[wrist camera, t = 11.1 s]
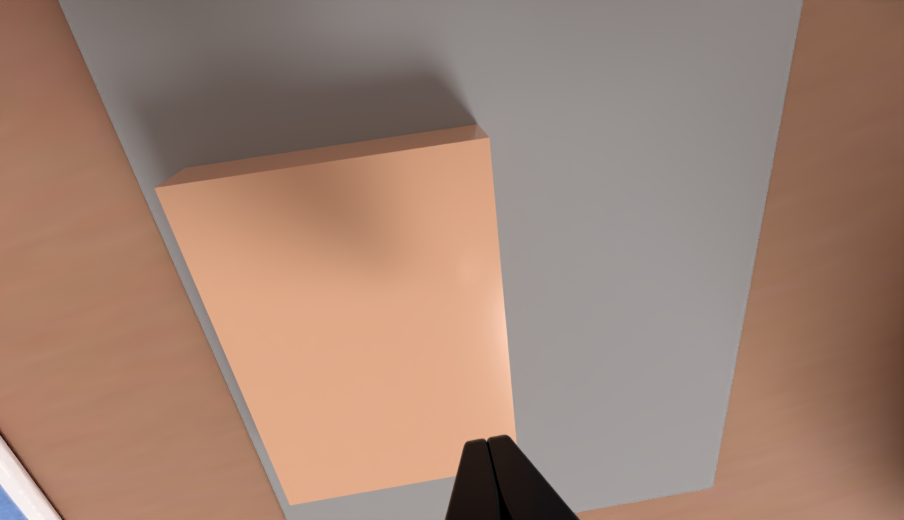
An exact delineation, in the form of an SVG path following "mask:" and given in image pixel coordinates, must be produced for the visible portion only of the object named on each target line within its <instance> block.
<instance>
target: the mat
mask: <svg viewBox="0 0 904 520" xmlns="http://www.w3.org/2000/svg"><path fill="white" fill-rule="evenodd" d="M58 1H59V4H60V6H61V8H62V11H63V13H64V15H65V17H66V20H67V22H68V24H69V26H70V29H71V31H72V33H73V36H74V38H75V40H76V42H77V45H78V47H79V49H80V51H81V54H82V56H83V58H84V60H85V63H86V65H87V67H88V70H89V72H90V74H91V76H92V79H93V81H94V83H95V85H96V88H97V90H98V92H99V95H100V97H101V99H102V101H103V104H104V106H105V108H106V110H107V113H108V115H109V117H110V120H111V122H112V124H113V126H114V129H115V131H116V133H117V135H118V138H119V140H120V142H121V145H122V147H123V149H124V151H125V154H126V156H127V158H128V160H129V163H130V165H131V167H132V170H133V172H134V174H135V176H136V179H137V181H138V183H139V185H140V188H141V190H142V192H143V195H144V197H145V199H146V201H147V204H148V206H149V208H150V210H151V213H152V215H153V217H154V219H155V222H156V224H157V226H158V229H159V231H160V233H161V235H162V238H163V240H164V242H165V244H166V247H167V249H168V251H169V254H170V256H171V258H172V260H173V263H174V265H175V267H176V269H177V272H178V274H179V276H180V279H181V281H182V283H183V285H184V288H185V290H186V292H187V294H188V297H189V299H190V301H191V304H192V306H193V308H194V310H195V313H196V315H197V317H198V319H199V322H200V324H201V326H202V329H203V331H204V333H205V335H206V338H207V340H208V342H209V344H210V347H211V349H212V351H213V354H214V356H215V358H216V360H217V363H218V365H219V367H220V369H221V372H222V374H223V376H224V378H225V381H226V383H227V385H228V388H229V390H230V392H231V394H232V397H233V399H234V401H235V403H236V406H237V408H238V410H239V413H240V415H241V417H242V419H243V422H244V424H245V426H246V428H247V431H248V433H249V435H250V438H251V440H252V442H253V444H254V447H255V449H256V451H257V453H258V456H259V458H260V460H261V463H262V465H263V467H264V469H265V472H266V474H267V476H268V478H269V481H270V483H271V485H272V488H273V490H274V492H275V494H276V497H277V499H278V501H279V503H280V506H281V508H282V510H283V513H284V515H285V517H286V519H287V520H445V516H446V512H447V509H448V505H449V501H450V497H451V493H452V489H453V485H454V481H455V478H456V476H453V477H448V478H442V479H436V480H431V481H425V482H419V483H414V484H408V485H402V486H397V487H391V488H386V489H380V490H374V491H369V492H363V493H357V494H352V495H346V496H341V497H335V498H329V499H324V500H318V501H312V502H307V503H301V504H296V505H290V504H289V502H288V500H287V497H286V495H285V493H284V490H283V488H282V486H281V483H280V481H279V479H278V476H277V474H276V472H275V469H274V467H273V465H272V462H271V460H270V458H269V455H268V453H267V451H266V448H265V446H264V444H263V441H262V439H261V437H260V434H259V432H258V430H257V427H256V425H255V422H254V420H253V418H252V415H251V413H250V411H249V408H248V406H247V404H246V401H245V399H244V397H243V394H242V392H241V390H240V387H239V385H238V383H237V380H236V378H235V376H234V373H233V371H232V369H231V366H230V364H229V362H228V359H227V357H226V355H225V352H224V350H223V348H222V345H221V343H220V341H219V338H218V336H217V334H216V331H215V329H214V327H213V324H212V322H211V320H210V317H209V315H208V313H207V310H206V308H205V306H204V303H203V301H202V299H201V296H200V294H199V292H198V289H197V287H196V285H195V282H194V280H193V278H192V275H191V273H190V271H189V268H188V266H187V263H186V261H185V259H184V256H183V254H182V252H181V249H180V247H179V245H178V242H177V240H176V238H175V235H174V233H173V231H172V228H171V226H170V224H169V221H168V219H167V217H166V214H165V212H164V210H163V207H162V205H161V203H160V200H159V198H158V196H157V193H156V191H155V189H154V188H155V187H157V186H158V185H160V184H161V183H163V182H164V181H166V180H167V179H169V178H170V177H172V176H174V175H175V174H177V173H178V172H180V171H181V170H183V169H184V168H187V167H194V166H200V165H207V164H214V163H220V162H227V161H234V160H240V159H247V158H254V157H260V156H267V155H274V154H281V153H287V152H294V151H301V150H307V149H314V148H321V147H327V146H334V145H341V144H347V143H354V142H361V141H368V140H374V139H381V138H388V137H394V136H401V135H408V134H414V133H421V132H428V131H434V130H441V129H448V128H455V127H461V126H468V125H475V124H478V125H479V126H480V127H481V128H482V129H483V131H484V132H485V133H486V134H487V135H488V136H489V138H490V150H491V161H492V172H493V183H494V194H495V206H496V217H497V228H498V239H499V251H500V262H501V273H502V284H503V296H504V307H505V318H506V329H507V341H508V352H509V363H510V374H511V385H512V397H513V408H514V419H515V430H516V442H517V446H518V447H519V448H520V449H521V450H522V452H523V453H524V454H525V455H526V456H527V458H528V459H529V460H530V461H531V462H532V463H533V465H534V466H535V467H536V468H537V469H538V471H539V472H540V473H541V474H542V475H543V477H544V478H545V479H546V480H547V481H548V483H549V484H550V485H551V486H552V487H553V488H554V490H555V491H556V492H557V493H558V494H559V496H560V497H561V498H562V499H563V500H564V502H565V503H566V504H567V505H568V506H569V508H570V509H571V510H572V511H573V512H574V513H577V512H583V511H588V510H594V509H599V508H605V507H610V506H616V505H621V504H627V503H632V502H638V501H643V500H649V499H654V498H660V497H665V496H671V495H676V494H682V493H687V492H693V491H698V490H704V489H709V488H713V484H714V478H715V473H716V467H717V462H718V457H719V451H720V446H721V441H722V435H723V430H724V424H725V419H726V414H727V408H728V403H729V397H730V392H731V387H732V381H733V376H734V370H735V365H736V360H737V354H738V349H739V343H740V338H741V333H742V327H743V322H744V316H745V311H746V306H747V300H748V295H749V289H750V284H751V279H752V273H753V268H754V262H755V257H756V252H757V246H758V241H759V236H760V230H761V225H762V219H763V214H764V209H765V203H766V198H767V192H768V187H769V182H770V176H771V171H772V165H773V160H774V155H775V149H776V144H777V138H778V133H779V128H780V122H781V117H782V111H783V106H784V101H785V95H786V90H787V84H788V79H789V74H790V68H791V63H792V57H793V52H794V47H795V41H796V36H797V31H798V25H799V20H800V14H801V9H802V4H803V0H58Z"/></svg>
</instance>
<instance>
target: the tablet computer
mask: <svg viewBox="0 0 904 520" xmlns="http://www.w3.org/2000/svg"><path fill="white" fill-rule="evenodd" d="M0 520H62V519H61V517H60V516H59V515H58V513H57V512H56V511H55V509H54V508H53V507H52V505H51V504H50V503H49V501H48V500H47V499H46V497H45V496H44V494H43V493H42V492H41V490H40V489H39V488H38V486H37V485H36V484H35V482H34V481H33V480H32V478H31V477H30V475H29V474H28V473H27V471H26V470H25V469H24V467H23V466H22V465H21V463H20V462H19V460H18V459H17V458H16V456H15V455H14V454H13V452H12V451H11V450H10V448H9V447H8V446H7V444H6V443H5V441H4V440H3V439H2V437H1V436H0Z"/></svg>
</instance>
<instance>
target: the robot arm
mask: <svg viewBox="0 0 904 520" xmlns="http://www.w3.org/2000/svg"><path fill="white" fill-rule="evenodd" d="M445 520H580V519H579V518H578V517H577V516H576V515H575V513H574V512H573V511H572V510H571V509H570V508H569V506H568V505H567V504H566V503H565V502H564V500H563V499H562V498H561V497H560V496H559V494H558V493H557V492H556V491H555V490H554V488H553V487H552V486H551V485H550V484H549V483H548V481H547V480H546V479H545V478H544V477H543V475H542V474H541V473H540V472H539V471H538V469H537V468H536V467H535V466H534V465H533V463H532V462H531V461H530V460H529V459H528V458H527V456H526V455H525V454H524V453H523V452H522V450H521V449H520V448H519V447H518V446H517V444H516V443H515V442H514V441H513V440H512V439H511V437H510V436H508V435H506V434H504V435H498V436H492V437H489V438H488V439H487V441H486V440H485V439H484V438H481V439H475V440H470V441H466V442H465V444H464V447H463V450H462V454H461V458H460V462H459V466H458V470H457V474H456V478H455V481H454V485H453V489H452V493H451V497H450V501H449V505H448V509H447V512H446V516H445Z"/></svg>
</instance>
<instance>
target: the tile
mask: <svg viewBox="0 0 904 520" xmlns="http://www.w3.org/2000/svg"><path fill="white" fill-rule="evenodd" d="M154 189H155V191H156V193H157V196H158V198H159V200H160V203H161V205H162V207H163V210H164V212H165V214H166V217H167V219H168V221H169V224H170V226H171V228H172V231H173V233H174V235H175V238H176V240H177V242H178V245H179V247H180V249H181V252H182V254H183V256H184V259H185V261H186V263H187V266H188V268H189V271H190V273H191V275H192V278H193V280H194V282H195V285H196V287H197V289H198V292H199V294H200V296H201V299H202V301H203V303H204V306H205V308H206V310H207V313H208V315H209V317H210V320H211V322H212V324H213V327H214V329H215V331H216V334H217V336H218V338H219V341H220V343H221V345H222V348H223V350H224V352H225V355H226V357H227V359H228V362H229V364H230V366H231V369H232V371H233V373H234V376H235V378H236V380H237V383H238V385H239V387H240V390H241V392H242V394H243V397H244V399H245V401H246V404H247V406H248V408H249V411H250V413H251V415H252V418H253V420H254V422H255V425H256V427H257V430H258V432H259V434H260V437H261V439H262V441H263V444H264V446H265V448H266V451H267V453H268V455H269V458H270V460H271V462H272V465H273V467H274V469H275V472H276V474H277V476H278V479H279V481H280V483H281V486H282V488H283V490H284V493H285V495H286V497H287V500H288V502H289V504H290V505H296V504H301V503H307V502H312V501H318V500H324V499H329V498H335V497H341V496H346V495H352V494H357V493H363V492H369V491H374V490H380V489H386V488H391V487H397V486H402V485H408V484H414V483H419V482H425V481H431V480H436V479H442V478H448V477H453V476H456V474H457V470H458V466H459V462H460V458H461V454H462V450H463V447H464V444H465V442H466V441H470V440H475V439H481V438H484V439H485V440H486V441H487V439H488V438H489V437H492V436H498V435H504V434H506V435H508V436H510V437H511V439H512V440H513V441H514V442H515V443H516V444H517V442H516V430H515V419H514V408H513V397H512V385H511V374H510V363H509V352H508V341H507V329H506V318H505V307H504V296H503V284H502V273H501V262H500V251H499V239H498V228H497V217H496V206H495V194H494V183H493V172H492V161H491V150H490V138H489V136H488V135H487V134H486V133H485V132H484V131H483V129H482V128H481V127H480V126H479V125H478V124H475V125H468V126H461V127H455V128H448V129H441V130H434V131H428V132H421V133H414V134H408V135H401V136H394V137H388V138H381V139H374V140H368V141H361V142H354V143H347V144H341V145H334V146H327V147H321V148H314V149H307V150H301V151H294V152H287V153H281V154H274V155H267V156H260V157H254V158H247V159H240V160H234V161H227V162H220V163H214V164H207V165H200V166H194V167H187V168H184V169H183V170H181V171H180V172H178V173H177V174H175V175H174V176H172V177H170V178H169V179H167V180H166V181H164V182H163V183H161V184H160V185H158V186H157V187H155V188H154Z"/></svg>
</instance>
